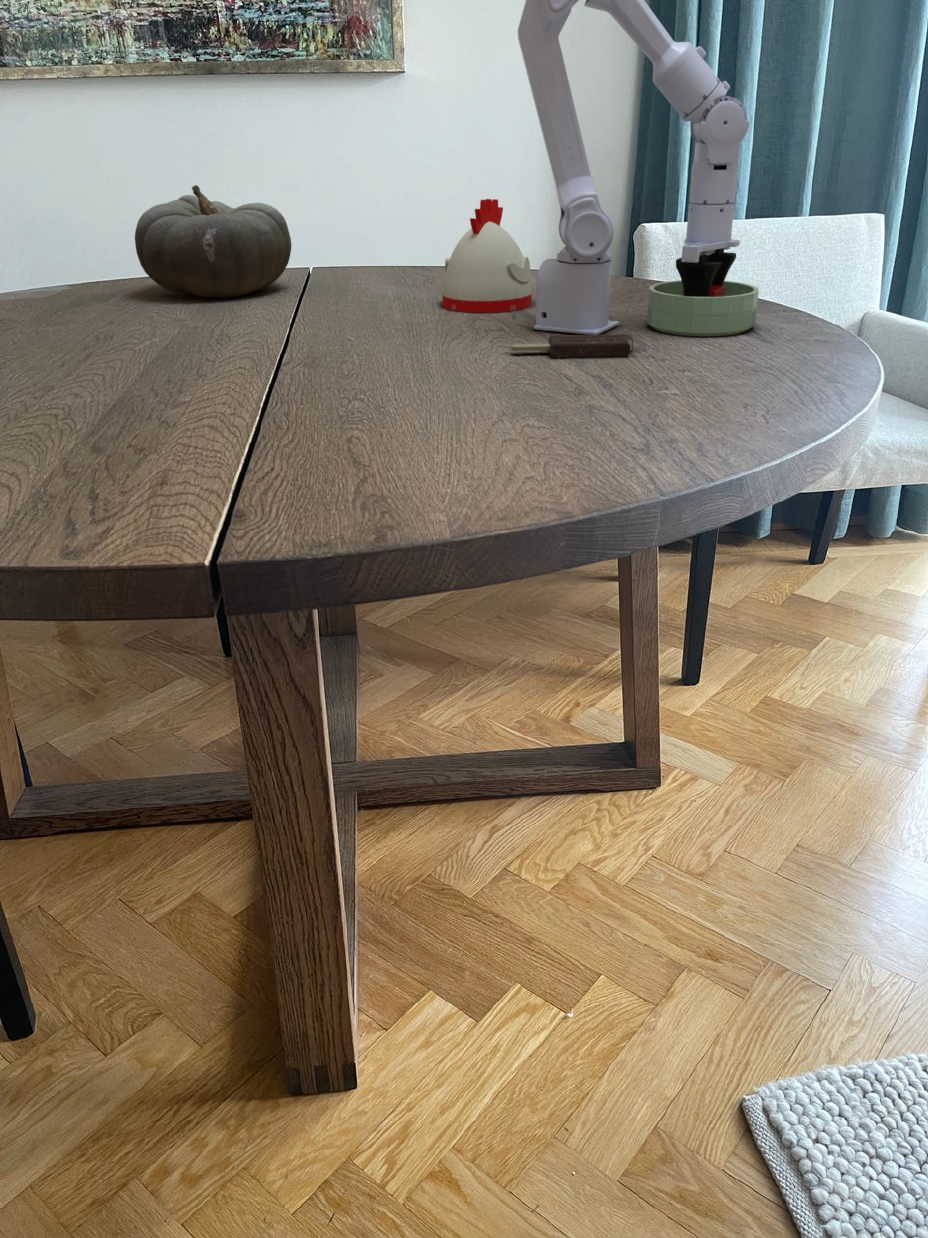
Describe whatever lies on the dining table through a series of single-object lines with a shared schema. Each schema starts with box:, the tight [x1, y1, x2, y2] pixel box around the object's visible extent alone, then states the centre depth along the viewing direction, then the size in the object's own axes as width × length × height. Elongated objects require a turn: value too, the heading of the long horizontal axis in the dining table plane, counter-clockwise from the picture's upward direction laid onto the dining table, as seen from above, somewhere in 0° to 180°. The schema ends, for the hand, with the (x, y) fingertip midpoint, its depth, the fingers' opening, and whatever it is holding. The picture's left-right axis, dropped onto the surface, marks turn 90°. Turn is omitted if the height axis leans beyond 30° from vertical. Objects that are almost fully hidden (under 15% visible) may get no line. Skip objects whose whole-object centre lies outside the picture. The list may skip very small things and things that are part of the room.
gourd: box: [134, 184, 292, 299], centre depth 157 cm, size 25×25×17 cm
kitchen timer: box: [441, 198, 533, 314], centre depth 141 cm, size 14×14×15 cm
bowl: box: [646, 279, 760, 337], centre depth 126 cm, size 14×14×5 cm
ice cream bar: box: [510, 333, 634, 359], centre depth 114 cm, size 5×2×15 cm
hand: (701, 312), depth 126 cm, fingers closed on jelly, 4 cm apart
